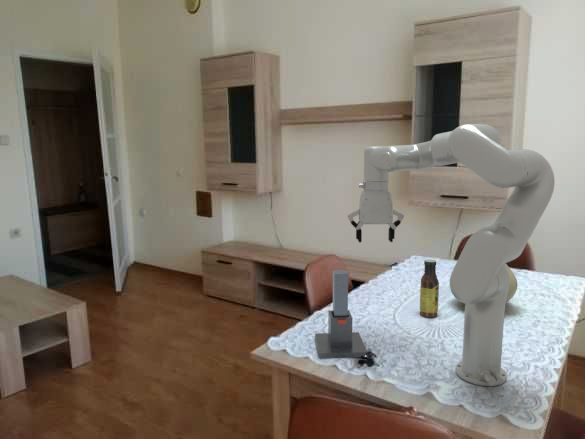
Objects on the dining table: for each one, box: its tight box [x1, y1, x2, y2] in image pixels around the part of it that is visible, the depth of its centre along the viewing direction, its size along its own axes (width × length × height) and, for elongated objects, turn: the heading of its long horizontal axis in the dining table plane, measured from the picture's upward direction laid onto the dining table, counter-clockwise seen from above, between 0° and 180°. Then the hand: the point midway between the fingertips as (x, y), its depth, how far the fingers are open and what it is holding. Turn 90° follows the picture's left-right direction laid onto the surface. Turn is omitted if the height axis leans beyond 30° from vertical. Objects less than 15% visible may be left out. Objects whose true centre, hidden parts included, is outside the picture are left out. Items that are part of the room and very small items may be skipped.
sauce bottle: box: [419, 259, 440, 318], centre depth 165 cm, size 7×6×20 cm
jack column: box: [332, 269, 349, 317], centre depth 140 cm, size 4×4×22 cm
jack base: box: [314, 309, 368, 359], centre depth 141 cm, size 14×14×10 cm
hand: (375, 241), depth 146 cm, fingers open, 9 cm apart
